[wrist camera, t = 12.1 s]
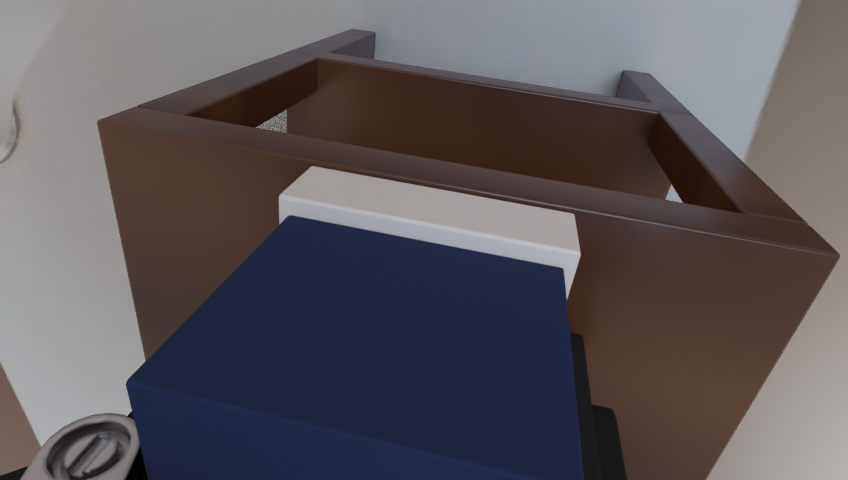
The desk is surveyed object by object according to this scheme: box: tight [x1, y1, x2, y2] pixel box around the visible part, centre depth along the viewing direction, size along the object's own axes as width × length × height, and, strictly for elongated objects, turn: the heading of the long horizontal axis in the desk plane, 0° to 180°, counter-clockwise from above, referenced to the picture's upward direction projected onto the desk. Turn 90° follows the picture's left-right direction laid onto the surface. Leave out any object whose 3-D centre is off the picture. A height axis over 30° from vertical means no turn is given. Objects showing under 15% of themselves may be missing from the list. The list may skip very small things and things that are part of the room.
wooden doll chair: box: [97, 29, 840, 480], centre depth 17 cm, size 12×14×22 cm
